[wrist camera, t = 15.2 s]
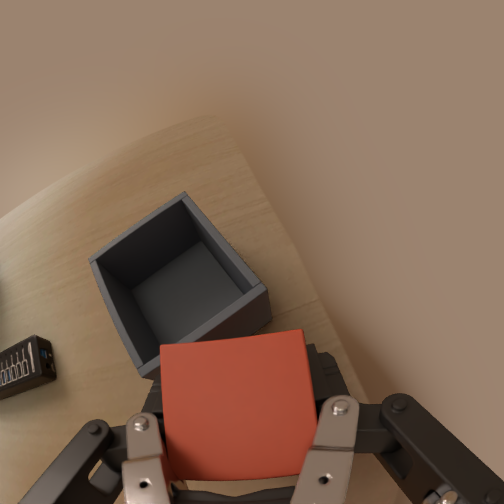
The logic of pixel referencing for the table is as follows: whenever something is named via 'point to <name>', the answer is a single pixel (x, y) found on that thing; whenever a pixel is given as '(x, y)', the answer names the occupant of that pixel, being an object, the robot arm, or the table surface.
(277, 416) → the block
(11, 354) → the multiport hub
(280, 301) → the table surface
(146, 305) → the tub
